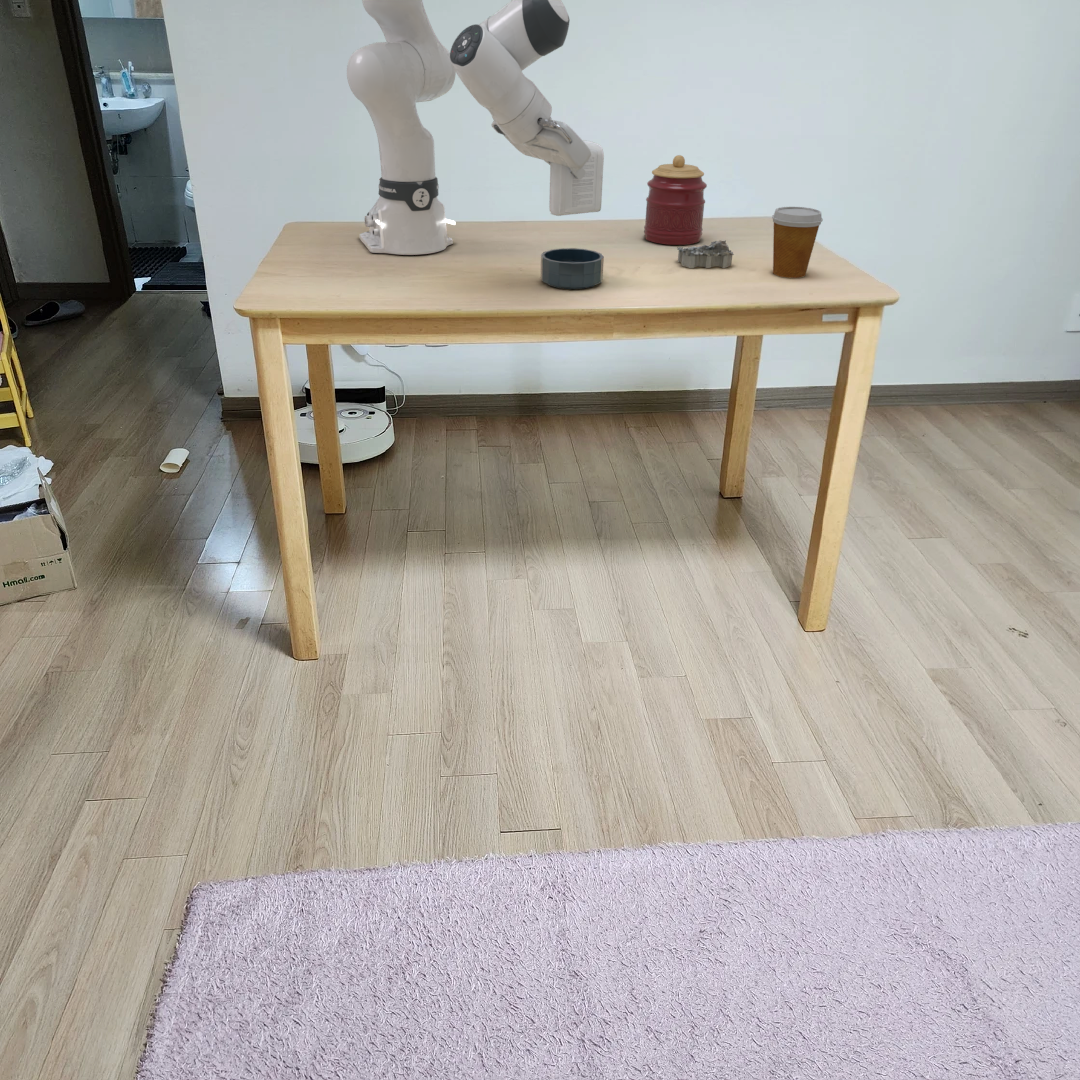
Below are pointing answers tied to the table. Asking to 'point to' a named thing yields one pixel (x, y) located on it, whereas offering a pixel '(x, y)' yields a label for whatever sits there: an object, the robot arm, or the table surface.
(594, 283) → the bowl
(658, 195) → the kitchen canister
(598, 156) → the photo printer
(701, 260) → the grey packaging insert
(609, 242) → the table surface
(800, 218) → the disposable coffee cup
